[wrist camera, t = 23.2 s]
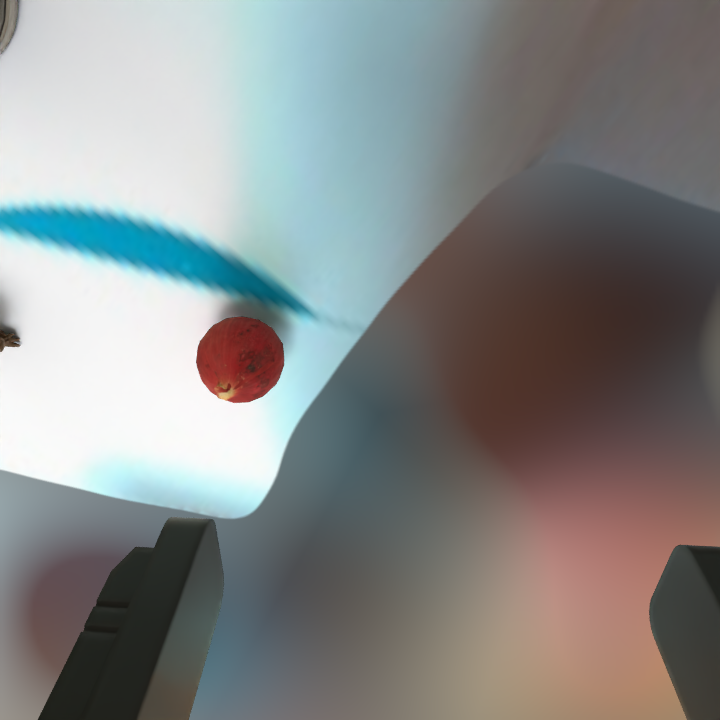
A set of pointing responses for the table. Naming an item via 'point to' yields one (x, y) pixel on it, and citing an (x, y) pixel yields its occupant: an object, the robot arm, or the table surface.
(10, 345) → the kangaroo figurine
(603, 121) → the table surface
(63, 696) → the robot arm
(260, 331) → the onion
